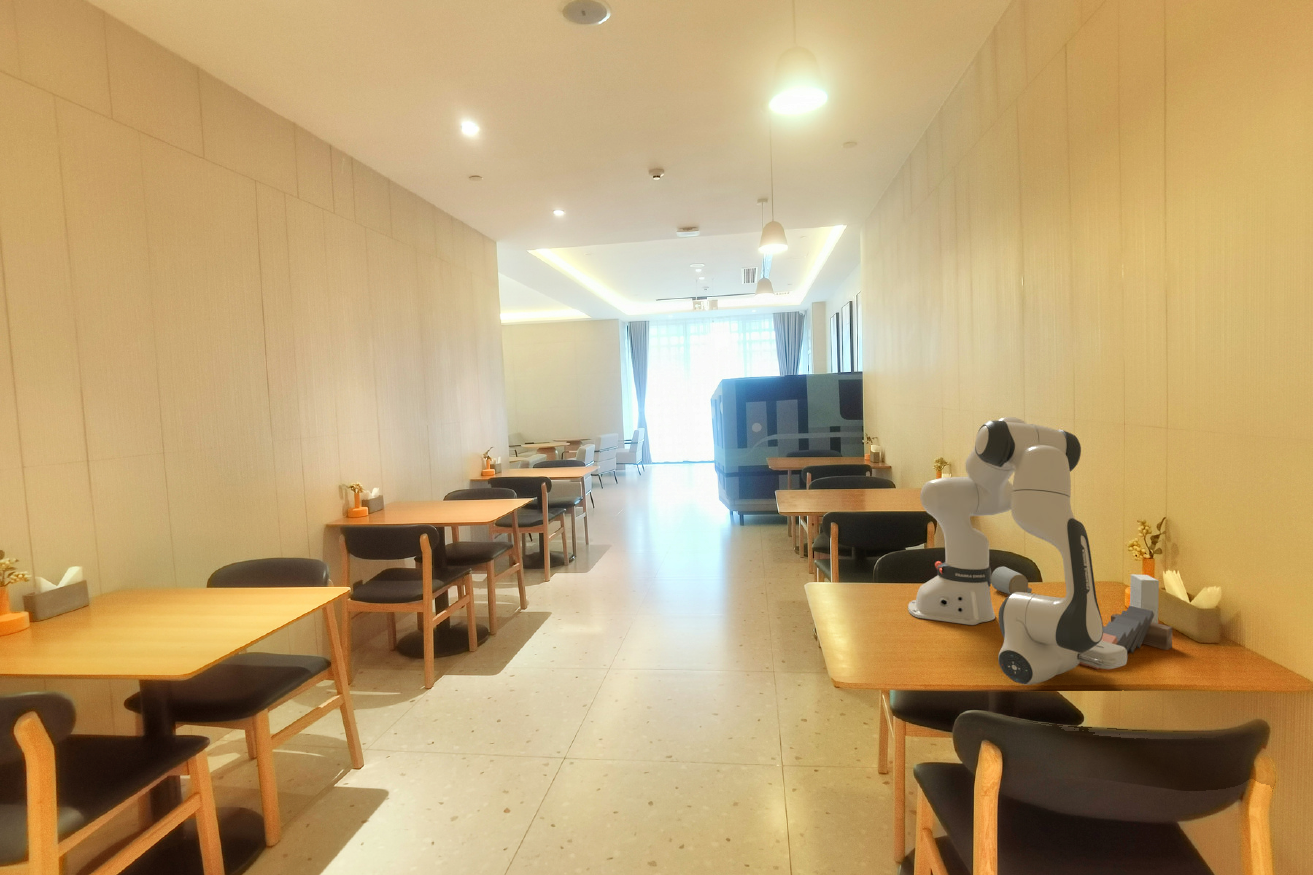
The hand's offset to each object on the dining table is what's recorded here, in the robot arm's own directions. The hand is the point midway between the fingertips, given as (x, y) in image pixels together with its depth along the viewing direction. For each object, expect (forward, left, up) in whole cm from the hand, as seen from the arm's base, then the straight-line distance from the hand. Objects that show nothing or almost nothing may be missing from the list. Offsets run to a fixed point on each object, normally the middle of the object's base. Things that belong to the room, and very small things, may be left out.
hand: (1088, 636), depth 148 cm
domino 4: (+7, +9, -6) cm, 13 cm away
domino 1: (-1, -1, -6) cm, 6 cm away
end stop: (+16, +20, -7) cm, 26 cm away
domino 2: (+2, +2, -6) cm, 7 cm away
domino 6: (+12, +14, -6) cm, 19 cm away
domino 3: (+4, +5, -6) cm, 9 cm away
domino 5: (+10, +12, -6) cm, 16 cm away
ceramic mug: (-5, +55, -7) cm, 56 cm away
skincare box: (+22, +36, -7) cm, 43 cm away
